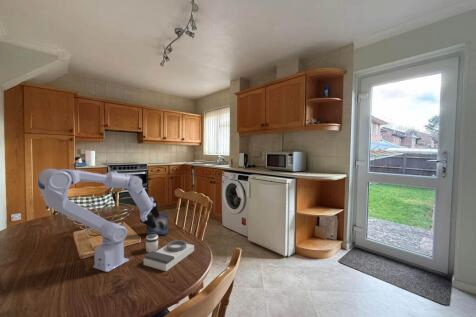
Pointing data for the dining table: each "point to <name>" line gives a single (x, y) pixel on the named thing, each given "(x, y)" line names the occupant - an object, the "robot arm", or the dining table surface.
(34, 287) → the dining table surface
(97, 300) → the dining table surface
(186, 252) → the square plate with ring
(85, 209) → the robot arm
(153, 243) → the lens
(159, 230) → the small box
